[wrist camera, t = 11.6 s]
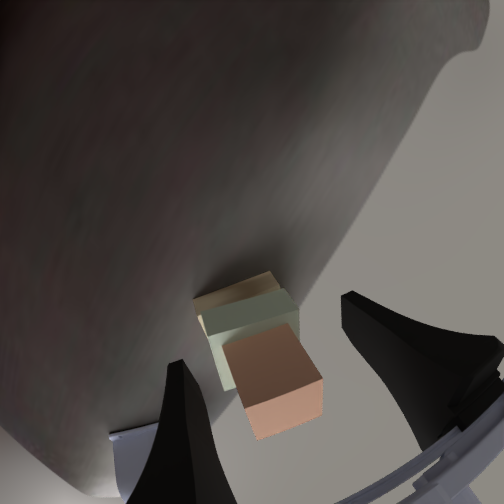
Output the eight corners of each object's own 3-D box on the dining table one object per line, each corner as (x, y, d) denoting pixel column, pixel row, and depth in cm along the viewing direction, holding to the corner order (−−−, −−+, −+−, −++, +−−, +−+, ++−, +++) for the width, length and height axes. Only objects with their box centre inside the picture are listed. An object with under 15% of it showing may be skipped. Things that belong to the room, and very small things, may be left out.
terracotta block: (235, 385, 21) (257, 440, 17) (221, 346, 19) (244, 408, 14) (292, 364, 22) (322, 415, 18) (287, 323, 20) (322, 378, 15)
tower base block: (214, 346, 25) (221, 367, 23) (191, 295, 22) (197, 316, 20) (279, 321, 26) (290, 340, 24) (266, 267, 23) (279, 285, 21)
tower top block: (216, 367, 23) (224, 391, 21) (200, 311, 20) (207, 336, 18) (287, 345, 24) (299, 366, 22) (284, 287, 21) (299, 309, 19)
